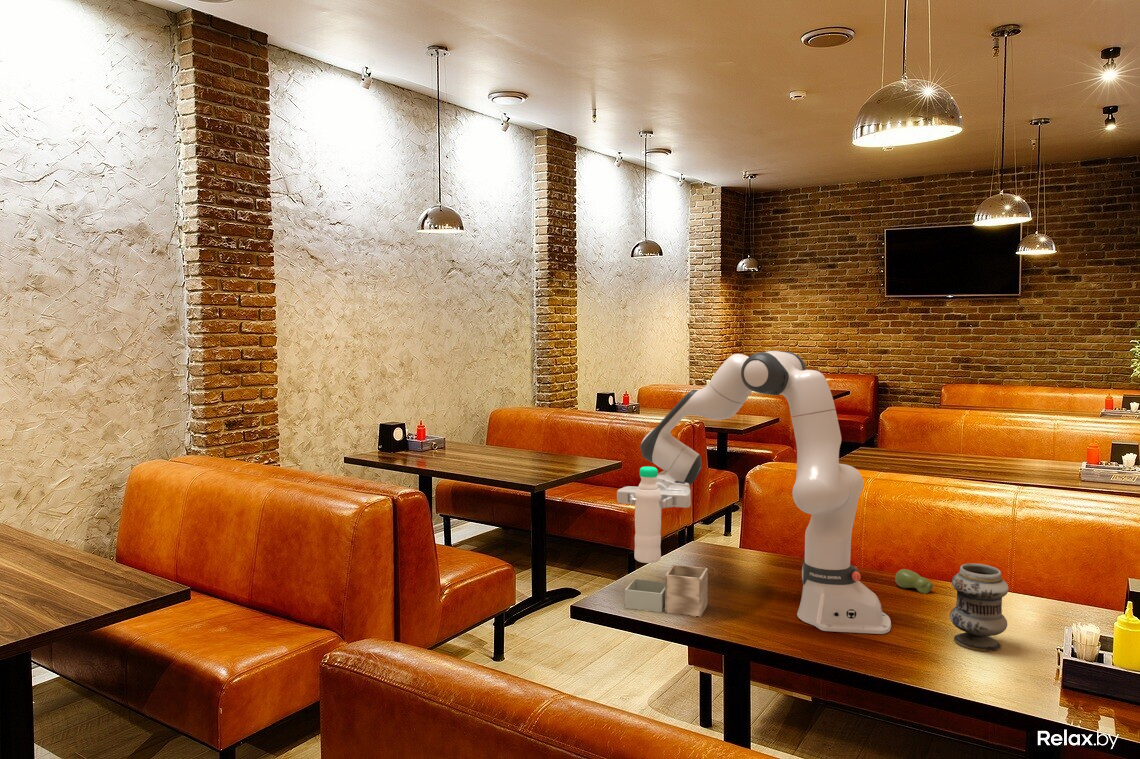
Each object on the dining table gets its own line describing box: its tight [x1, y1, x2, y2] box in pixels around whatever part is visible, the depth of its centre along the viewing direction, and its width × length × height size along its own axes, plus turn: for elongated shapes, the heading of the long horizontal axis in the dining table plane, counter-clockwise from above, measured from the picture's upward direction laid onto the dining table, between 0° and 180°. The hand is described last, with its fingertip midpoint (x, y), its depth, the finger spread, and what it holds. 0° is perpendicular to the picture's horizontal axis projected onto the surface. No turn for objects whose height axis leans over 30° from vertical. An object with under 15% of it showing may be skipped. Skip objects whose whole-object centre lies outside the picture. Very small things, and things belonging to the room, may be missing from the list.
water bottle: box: [633, 466, 662, 564], centre depth 211 cm, size 7×7×25 cm
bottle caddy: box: [624, 577, 665, 613], centre depth 213 cm, size 10×10×5 cm
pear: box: [894, 568, 934, 595], centre depth 224 cm, size 6×5×10 cm
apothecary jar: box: [949, 562, 1009, 653], centre depth 186 cm, size 12×12×18 cm
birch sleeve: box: [664, 564, 708, 618], centre depth 209 cm, size 9×9×10 cm
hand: (647, 503), depth 210 cm, fingers closed on water bottle, 6 cm apart
